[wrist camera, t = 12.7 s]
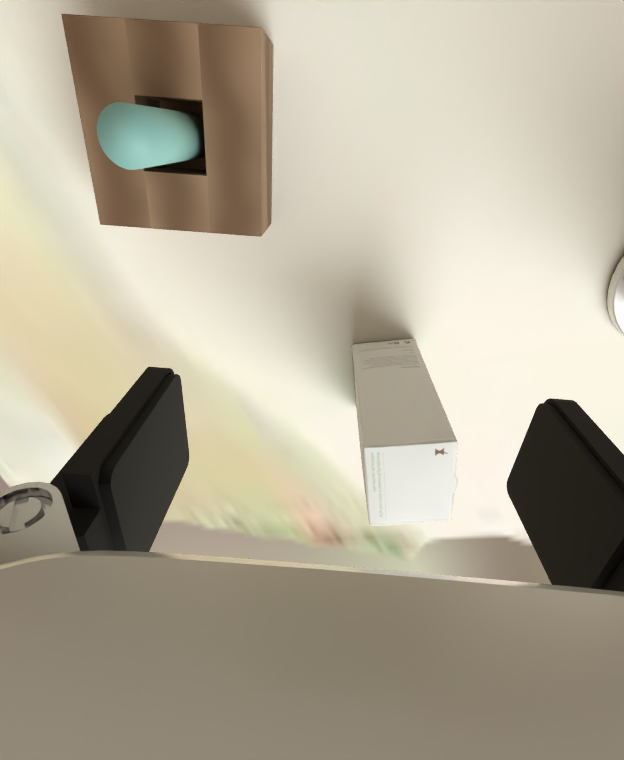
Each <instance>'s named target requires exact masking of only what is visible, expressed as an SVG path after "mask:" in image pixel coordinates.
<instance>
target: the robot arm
mask: <svg viewBox="0 0 624 760" xmlns="http://www.w3.org/2000/svg"><path fill="white" fill-rule="evenodd" d="M607 306H608V312H609V316H610V318H611V320H612V323H613V325H614V326H615V327H616V328H617V330H618V331H619V332H620V333H621V334H622V335H624V256H623V258H622V259H621V261H620V262H619V263H618V265H617V268H616V270H615V272H614V274H613V276H612V278H611V282H610V285H609V289H608V298H607ZM188 462H189V448H188V440H187V431H186V422H185V413H184V404H183V395H182V386H181V379H180V376H179V375H177V374H174V372H173V370H172V369H170V368H158V367H148V368H147V369H146V370H145V371H144V373H143V374H142V375H141V376H140V377H139V379H138V380H137V381H136V382H135V384H134V385H133V386H132V387H131V388H130V390H129V391H128V392H127V393H126V395H125V396H124V397H123V398H122V399H121V401H120V402H119V403H118V404H117V406H116V407H115V408H114V409H113V410H112V412H111V413H110V414H108V415H107V416H105V417H104V418H103V420H102V421H101V422H100V423H99V424H98V426H97V427H96V428H95V429H94V431H93V432H92V433H91V434H90V435H89V437H88V438H87V439H86V440H85V441H84V443H83V444H82V445H81V446H80V447H79V449H78V450H77V451H76V452H75V453H74V455H73V456H72V457H71V458H70V460H69V461H68V462H67V463H66V464H65V466H64V467H63V468H62V469H61V470H60V472H59V473H58V474H57V475H56V476H55V478H54V479H53V480H52V481H51V483H43V482H30V483H24V484H20V485H16V486H13V487H10V488H8V489H6V490H3V491H1V492H0V760H624V455H623V454H622V452H621V451H620V450H619V449H618V448H617V447H616V446H615V445H614V444H613V442H612V441H611V440H610V439H609V438H608V437H607V436H606V435H605V434H604V433H603V431H602V430H601V429H600V428H599V427H598V426H597V425H596V424H595V423H594V421H593V420H592V419H591V418H590V417H589V416H588V415H587V414H586V413H585V412H584V410H583V409H582V408H581V407H580V406H579V405H578V404H577V403H576V402H575V401H572V400H562V399H548V400H546V401H545V402H544V404H543V403H542V404H539V405H538V407H537V409H536V411H535V413H534V416H533V418H532V421H531V423H530V426H529V428H528V431H527V433H526V436H525V438H524V441H523V443H522V446H521V448H520V451H519V453H518V455H517V458H516V460H515V463H514V465H513V468H512V470H511V473H510V475H509V478H508V481H507V491H508V494H509V497H510V499H511V501H512V503H513V505H514V507H515V509H516V511H517V513H518V515H519V517H520V519H521V521H522V524H523V526H524V528H525V530H526V532H527V534H528V536H529V538H530V540H531V542H532V544H533V546H534V548H535V550H536V552H537V555H538V557H539V559H540V561H541V563H542V565H543V567H544V569H545V571H546V573H547V575H548V578H549V579H550V581H551V583H552V585H549V584H538V583H527V582H515V581H505V580H494V579H483V578H472V577H460V576H449V575H437V574H425V573H414V572H402V571H390V570H378V569H366V568H355V567H342V566H330V565H317V564H306V563H293V562H280V561H268V560H254V559H241V558H230V557H217V556H203V555H187V554H170V553H155V552H149V550H150V548H151V546H152V544H153V542H154V539H155V537H156V535H157V533H158V531H159V528H160V526H161V524H162V522H163V520H164V517H165V515H166V513H167V511H168V509H169V506H170V504H171V502H172V500H173V497H174V495H175V493H176V491H177V489H178V486H179V484H180V482H181V480H182V478H183V475H184V473H185V471H186V469H187V466H188Z"/></svg>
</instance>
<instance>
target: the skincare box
mask: <svg viewBox="0 0 624 760" xmlns="http://www.w3.org/2000/svg"><path fill="white" fill-rule="evenodd" d="M352 356H353V369H354V383H355V396H356V407H357V418H358V429H359V439H360V450H361V459H362V468H363V477H364V486H365V494H366V502H367V510H368V517H369V524H370V526H379V525H395V524H408V523H424V522H447V521H452V510H453V500H454V492H455V490H456V488H457V485H458V480H457V477H456V461H457V445H458V444H457V440H456V437H455V435H454V433H453V430H452V428H451V425H450V423H449V421H448V418H447V416H446V414H445V411H444V409H443V406H442V404H441V402H440V399H439V397H438V394H437V392H436V390H435V387H434V385H433V382H432V380H431V378H430V375H429V373H428V370H427V368H426V365H425V363H424V361H423V358H422V356H421V353H420V351H419V348H418V346H417V343H416V340H415V339H403V340H392V341H381V342H371V343H360V344H353V345H352Z"/></svg>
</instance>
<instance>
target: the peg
mask: <svg viewBox="0 0 624 760" xmlns="http://www.w3.org/2000/svg"><path fill="white" fill-rule="evenodd" d="M97 136H98V140H99V143H100V145H101V148H102V149H103V151H104V153H105V154H106V156H107V157H108V158H109V159H110V160H111V161H112V162H113V163H115V164H116V165H118V166H120V167H122V168H125V169H129V170H137V169H143V168H148V167H154V166H159V165H165V164H170V163H176V162H182V161H187V160H193V159H198V158H202V157H204V156H206V155H205V138H204V121H203V117H201V116H200V115H198V114H195V113H189V112H182V111H175V110H169V109H162V108H156V107H149V106H143V105H136V104H130V103H123V102H116V103H112V104H110V105H108V106H107V107H105V108H104V109H103V110H102V112H101V113H100V115H99V118H98V121H97Z"/></svg>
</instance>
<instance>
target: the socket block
mask: <svg viewBox="0 0 624 760" xmlns="http://www.w3.org/2000/svg"><path fill="white" fill-rule="evenodd" d="M62 20H63V25H64V30H65V36H66V41H67V47H68V52H69V58H70V63H71V68H72V74H73V79H74V85H75V90H76V95H77V101H78V106H79V112H80V117H81V122H82V128H83V133H84V139H85V144H86V149H87V155H88V160H89V166H90V171H91V176H92V182H93V187H94V193H95V198H96V204H97V209H98V214H99V220H100V224H101V225H114V226H127V227H141V228H154V229H167V230H181V231H194V232H207V233H221V234H234V235H247V236H262V235H263V233H264V232H265V231H266V229H267V228H268V227H269V225H270V224H271V195H272V112H273V44H272V43H271V41H270V40H269V38H268V37H267V35H266V34H265V32H264V31H263V29H262V28H259V27H245V26H230V25H216V24H201V23H187V22H172V21H158V20H143V19H129V18H114V17H100V16H85V15H71V14H62ZM116 102H123V103H130V104H136V105H143V106H149V107H156V108H162V109H169V110H175V111H182V112H189V113H195V114H198V115H200V116H201V117H203V121H204V138H205V155H206V156H204V157H202V158H198V159H193V160H187V161H182V162H176V163H170V164H165V165H159V166H154V167H148V168H143V169H137V170H129V169H125V168H122V167H120V166H118V165H116V164H115V163H113V162H112V161H111V160H110V159H109V158H108V157H107V156H106V154H105V153H104V151H103V149H102V148H101V145H100V143H99V140H98V136H97V121H98V118H99V115H100V113H101V112H102V110H103V109H104V108H105V107H107V106H108V105H110V104H112V103H116Z"/></svg>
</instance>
